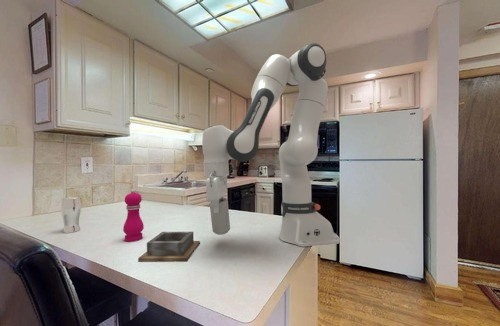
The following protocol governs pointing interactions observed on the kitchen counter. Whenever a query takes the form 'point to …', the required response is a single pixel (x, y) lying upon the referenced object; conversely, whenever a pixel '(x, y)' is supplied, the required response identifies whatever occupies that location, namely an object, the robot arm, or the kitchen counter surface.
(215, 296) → the kitchen counter surface
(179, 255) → the collar plate
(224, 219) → the beverage can
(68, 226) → the beer glass
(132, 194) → the pepper mill
